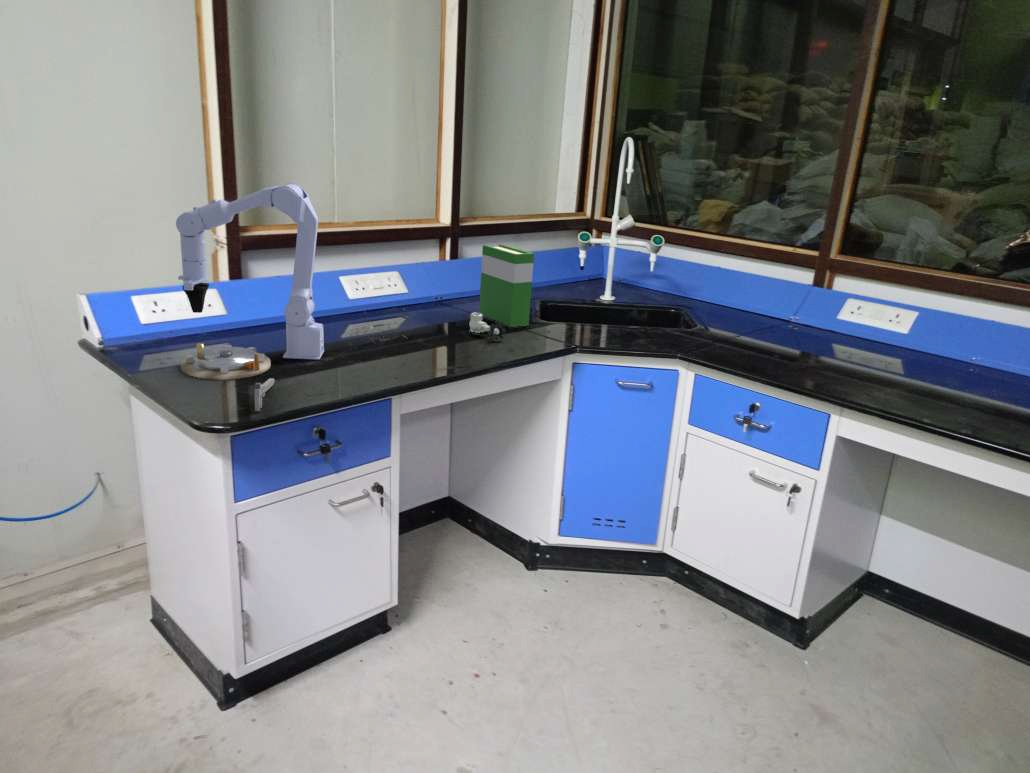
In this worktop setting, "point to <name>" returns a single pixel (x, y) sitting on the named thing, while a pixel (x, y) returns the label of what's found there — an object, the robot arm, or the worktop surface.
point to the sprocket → (223, 358)
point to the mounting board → (233, 374)
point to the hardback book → (506, 284)
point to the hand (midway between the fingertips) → (197, 312)
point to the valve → (485, 326)
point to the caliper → (261, 392)
